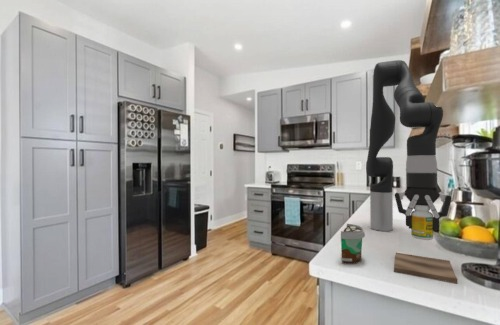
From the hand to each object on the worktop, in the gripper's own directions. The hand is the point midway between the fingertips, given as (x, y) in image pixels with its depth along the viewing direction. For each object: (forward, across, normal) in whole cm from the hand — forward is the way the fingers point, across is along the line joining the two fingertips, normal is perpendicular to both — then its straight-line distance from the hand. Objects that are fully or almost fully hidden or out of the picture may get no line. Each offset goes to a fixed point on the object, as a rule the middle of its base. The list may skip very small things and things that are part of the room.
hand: (421, 229), depth 74 cm
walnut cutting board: (+11, 0, 0) cm, 11 cm away
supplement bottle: (+3, 0, 0) cm, 3 cm away
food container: (+12, +18, +3) cm, 22 cm away
